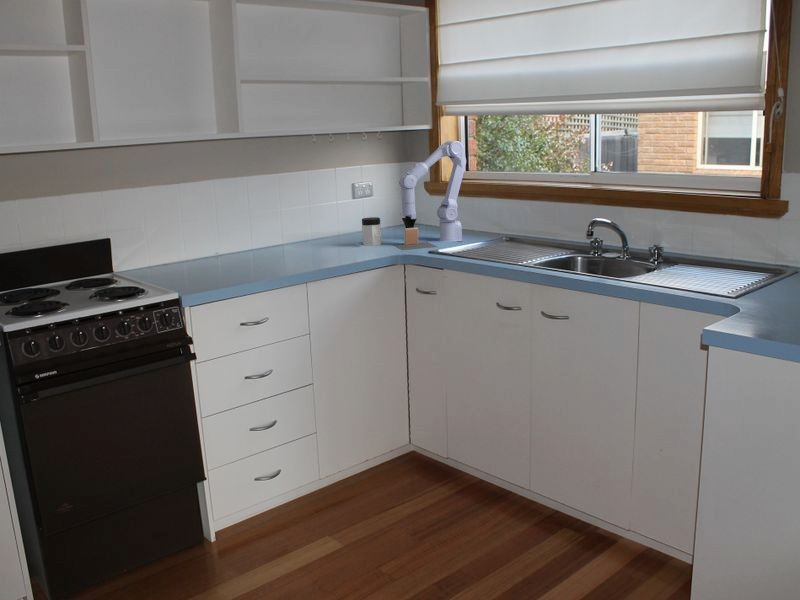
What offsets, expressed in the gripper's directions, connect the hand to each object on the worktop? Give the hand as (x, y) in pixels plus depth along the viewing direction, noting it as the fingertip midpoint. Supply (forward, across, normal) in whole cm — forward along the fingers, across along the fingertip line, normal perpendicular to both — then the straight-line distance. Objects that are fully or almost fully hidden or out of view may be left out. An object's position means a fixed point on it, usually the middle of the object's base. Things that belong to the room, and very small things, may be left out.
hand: (409, 233), depth 353 cm
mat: (+5, +7, 0) cm, 9 cm away
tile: (+4, +1, 0) cm, 5 cm away
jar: (+5, -9, -15) cm, 18 cm away
